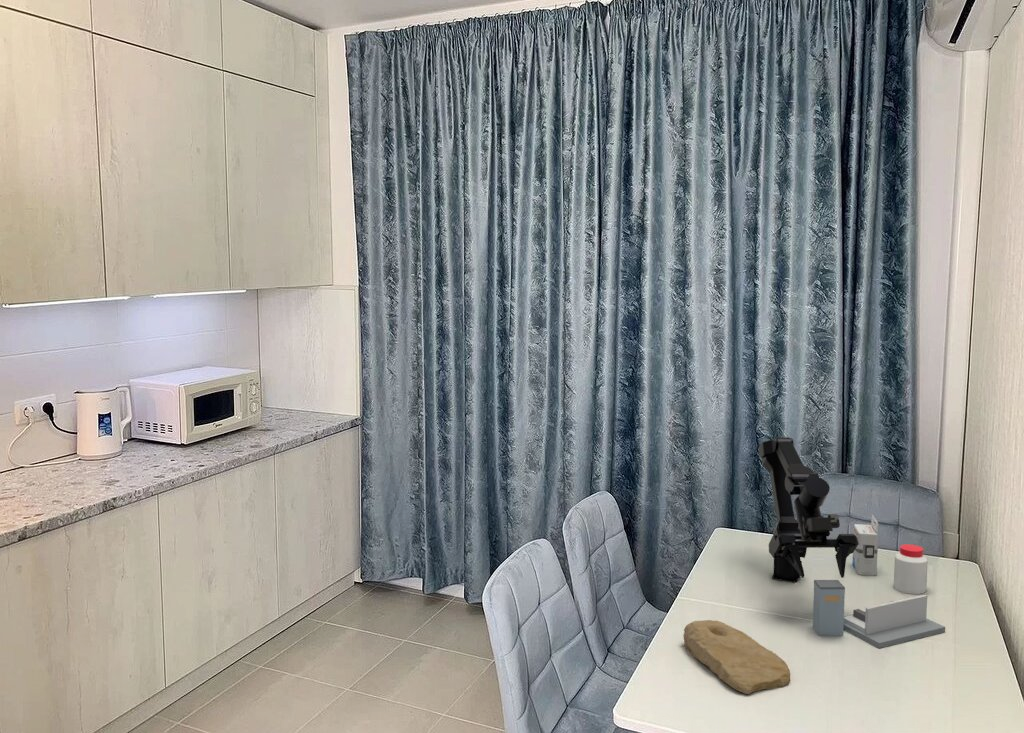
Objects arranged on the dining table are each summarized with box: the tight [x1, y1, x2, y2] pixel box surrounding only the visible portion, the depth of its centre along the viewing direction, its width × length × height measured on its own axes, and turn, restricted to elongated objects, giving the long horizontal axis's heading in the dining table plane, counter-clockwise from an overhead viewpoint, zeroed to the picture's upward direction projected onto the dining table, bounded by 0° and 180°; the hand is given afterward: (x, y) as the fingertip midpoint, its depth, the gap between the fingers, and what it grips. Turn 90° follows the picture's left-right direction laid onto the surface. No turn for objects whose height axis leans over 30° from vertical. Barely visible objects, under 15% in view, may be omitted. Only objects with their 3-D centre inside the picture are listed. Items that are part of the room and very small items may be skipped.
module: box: [812, 579, 846, 636], centre depth 195 cm, size 5×6×12 cm
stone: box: [683, 619, 791, 695], centre depth 181 cm, size 15×26×6 cm, turn 19°
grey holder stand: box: [843, 594, 946, 649], centre depth 197 cm, size 14×20×7 cm
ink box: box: [852, 514, 879, 576], centre depth 233 cm, size 9×5×15 cm, turn 168°
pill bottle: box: [893, 543, 929, 595], centre depth 220 cm, size 8×8×11 cm
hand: (823, 577), depth 199 cm, fingers open, 9 cm apart
